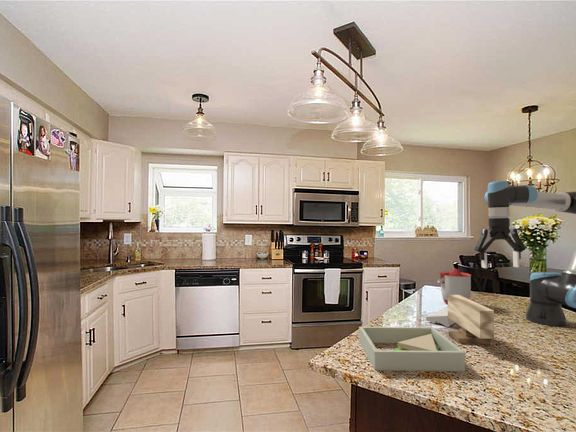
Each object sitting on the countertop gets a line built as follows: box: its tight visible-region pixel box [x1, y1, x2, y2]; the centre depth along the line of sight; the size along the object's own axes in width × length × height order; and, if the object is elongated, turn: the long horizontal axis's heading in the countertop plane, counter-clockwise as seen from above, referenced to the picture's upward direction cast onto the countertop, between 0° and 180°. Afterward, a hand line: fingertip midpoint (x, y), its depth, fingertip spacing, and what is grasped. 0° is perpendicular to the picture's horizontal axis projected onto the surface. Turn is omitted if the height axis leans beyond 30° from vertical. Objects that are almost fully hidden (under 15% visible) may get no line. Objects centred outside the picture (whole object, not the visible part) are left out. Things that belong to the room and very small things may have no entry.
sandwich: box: [392, 334, 439, 351], centre depth 113 cm, size 15×20×5 cm
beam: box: [447, 295, 495, 340], centre depth 127 cm, size 5×24×10 cm, turn 179°
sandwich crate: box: [358, 326, 466, 372], centre depth 112 cm, size 28×23×6 cm
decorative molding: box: [425, 305, 456, 328], centre depth 156 cm, size 34×5×10 cm
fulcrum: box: [448, 326, 491, 345], centre depth 127 cm, size 12×8×5 cm, turn 89°
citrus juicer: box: [437, 268, 472, 305], centre depth 181 cm, size 16×17×20 cm
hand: (500, 267), depth 135 cm, fingers open, 13 cm apart
